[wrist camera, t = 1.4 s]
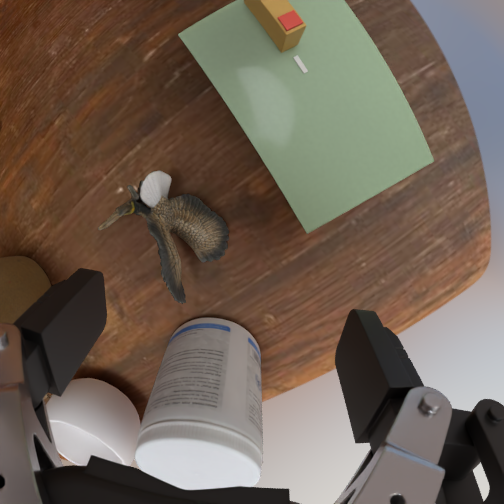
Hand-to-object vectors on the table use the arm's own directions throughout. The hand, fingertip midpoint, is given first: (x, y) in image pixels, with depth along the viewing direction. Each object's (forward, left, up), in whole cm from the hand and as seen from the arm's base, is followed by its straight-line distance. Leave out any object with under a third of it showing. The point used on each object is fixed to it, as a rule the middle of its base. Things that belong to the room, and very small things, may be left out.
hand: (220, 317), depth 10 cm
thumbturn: (-11, +9, -15) cm, 20 cm away
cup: (+12, -29, -18) cm, 36 cm away
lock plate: (-5, +9, -18) cm, 20 cm away
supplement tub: (+12, -11, -18) cm, 24 cm away
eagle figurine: (-1, -6, -18) cm, 19 cm away
